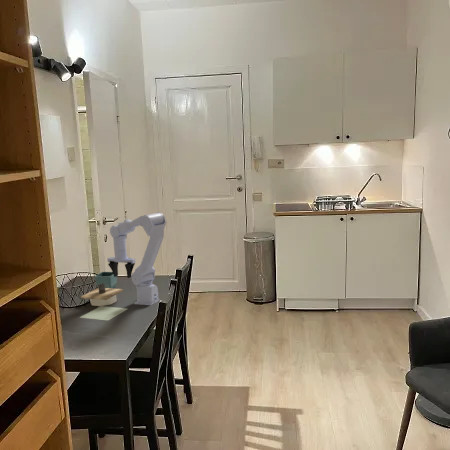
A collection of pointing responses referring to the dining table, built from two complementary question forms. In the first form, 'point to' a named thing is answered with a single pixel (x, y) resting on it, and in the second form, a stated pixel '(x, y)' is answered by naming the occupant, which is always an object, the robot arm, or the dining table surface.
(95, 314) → the mat
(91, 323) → the dining table surface
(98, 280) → the flower pot
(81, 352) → the dining table surface
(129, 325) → the dining table surface
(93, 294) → the lid
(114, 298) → the bowl
